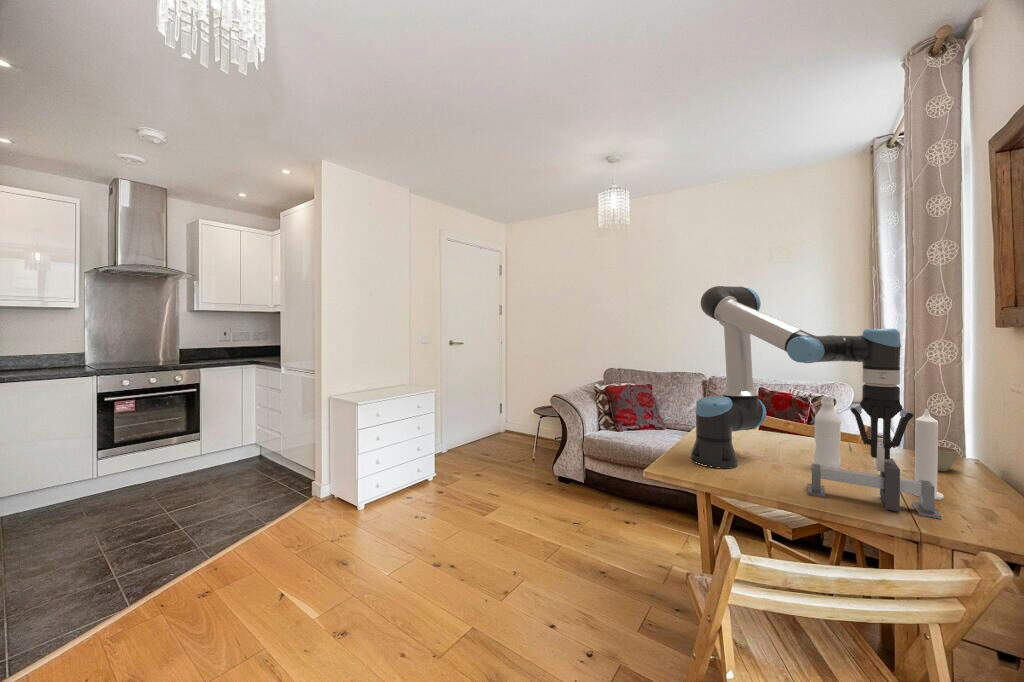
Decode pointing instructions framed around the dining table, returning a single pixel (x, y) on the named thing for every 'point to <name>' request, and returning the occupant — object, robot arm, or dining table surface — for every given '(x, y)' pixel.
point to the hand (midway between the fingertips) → (879, 469)
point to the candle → (927, 451)
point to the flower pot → (946, 458)
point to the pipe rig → (875, 486)
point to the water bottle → (827, 435)
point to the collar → (891, 485)
